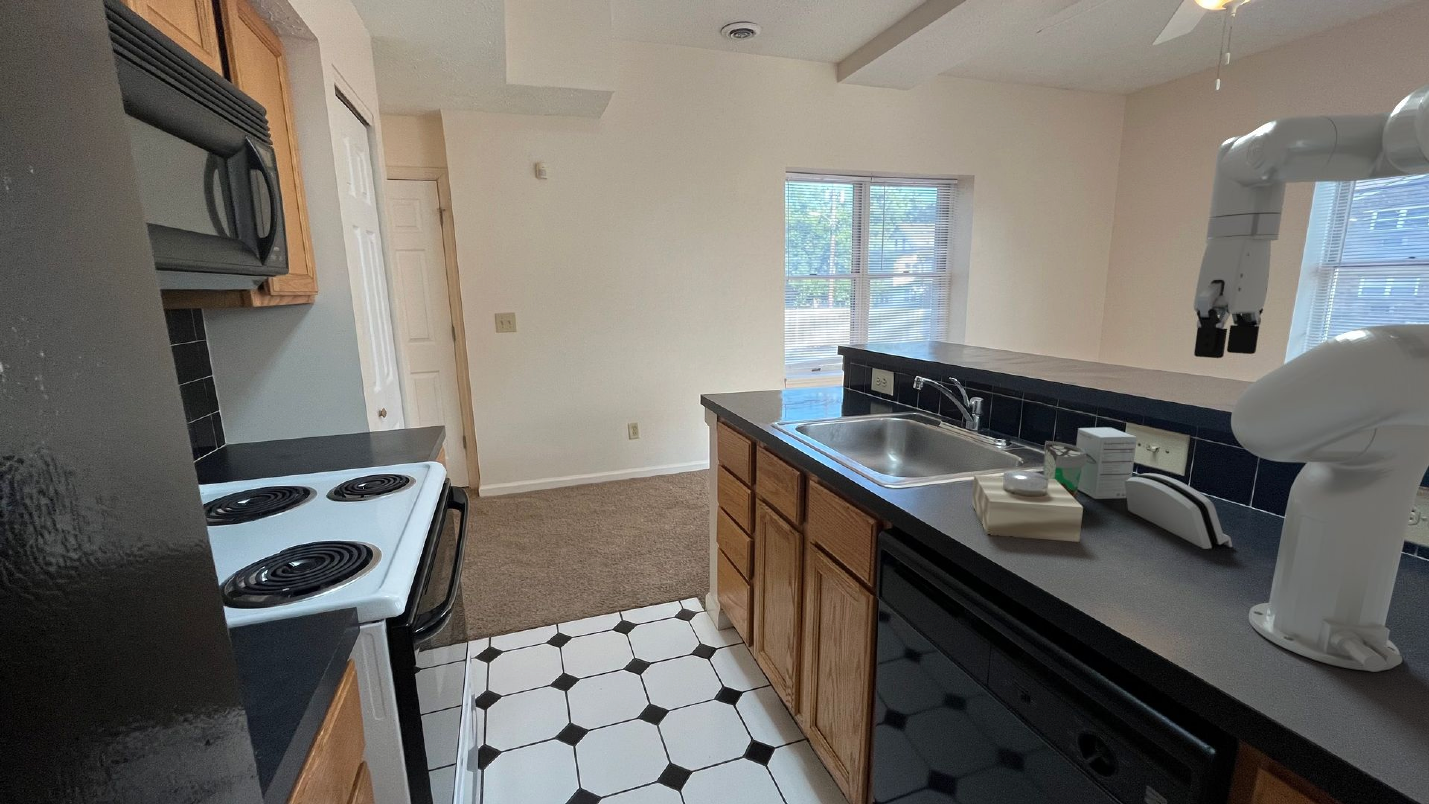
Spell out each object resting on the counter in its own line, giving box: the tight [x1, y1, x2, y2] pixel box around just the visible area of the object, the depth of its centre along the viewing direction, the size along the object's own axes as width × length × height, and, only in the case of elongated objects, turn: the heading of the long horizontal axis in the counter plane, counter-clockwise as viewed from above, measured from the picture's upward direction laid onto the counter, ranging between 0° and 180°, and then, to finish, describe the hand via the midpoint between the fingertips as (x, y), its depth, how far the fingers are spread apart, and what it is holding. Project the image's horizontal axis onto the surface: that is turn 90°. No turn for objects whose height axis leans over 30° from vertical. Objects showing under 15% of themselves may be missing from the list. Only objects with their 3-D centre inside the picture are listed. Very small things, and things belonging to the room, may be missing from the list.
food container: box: [1042, 440, 1087, 500], centre depth 116 cm, size 12×6×10 cm, turn 161°
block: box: [971, 474, 1084, 543], centre depth 106 cm, size 14×14×6 cm
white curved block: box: [1125, 472, 1233, 550], centre depth 103 cm, size 17×5×10 cm, turn 4°
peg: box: [1002, 469, 1049, 497], centre depth 106 cm, size 7×7×8 cm
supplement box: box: [1075, 426, 1138, 500], centre depth 119 cm, size 7×7×13 cm
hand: (1224, 355), depth 85 cm, fingers open, 9 cm apart
